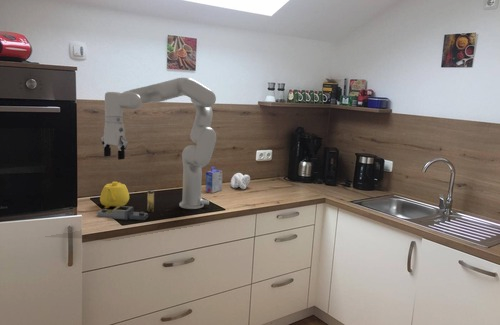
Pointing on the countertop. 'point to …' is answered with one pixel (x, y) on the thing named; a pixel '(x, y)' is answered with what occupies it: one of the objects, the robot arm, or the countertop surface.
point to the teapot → (114, 195)
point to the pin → (150, 201)
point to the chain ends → (122, 213)
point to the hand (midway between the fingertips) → (114, 157)
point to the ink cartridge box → (213, 180)
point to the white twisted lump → (240, 181)
